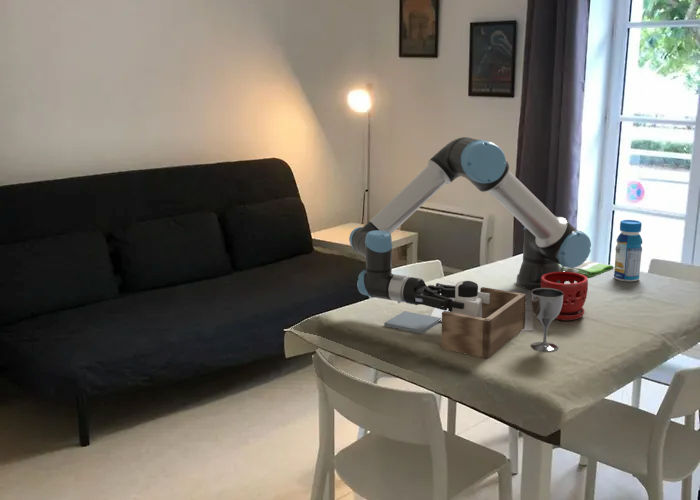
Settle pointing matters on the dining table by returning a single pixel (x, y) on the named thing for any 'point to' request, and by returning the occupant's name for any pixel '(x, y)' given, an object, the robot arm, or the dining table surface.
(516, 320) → the walnut bay
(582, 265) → the dish towel
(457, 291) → the medicine bottle
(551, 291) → the wine glass
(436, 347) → the dining table surface
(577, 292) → the plant pot
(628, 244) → the beverage bottle
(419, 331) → the grey pad
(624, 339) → the dining table surface
